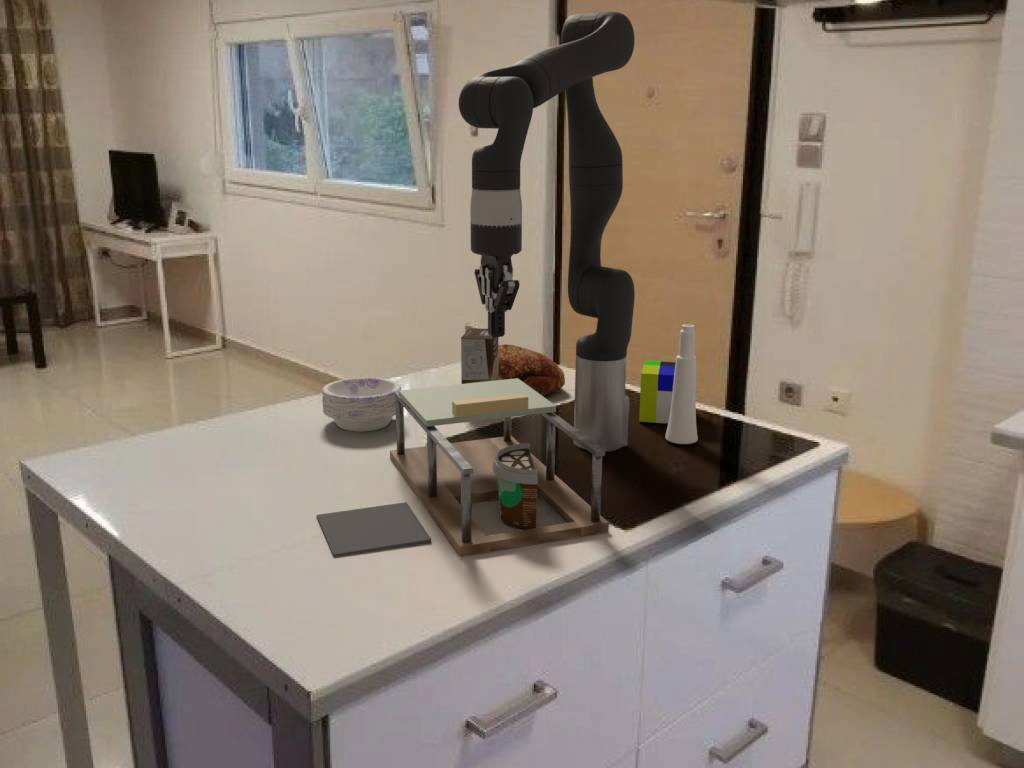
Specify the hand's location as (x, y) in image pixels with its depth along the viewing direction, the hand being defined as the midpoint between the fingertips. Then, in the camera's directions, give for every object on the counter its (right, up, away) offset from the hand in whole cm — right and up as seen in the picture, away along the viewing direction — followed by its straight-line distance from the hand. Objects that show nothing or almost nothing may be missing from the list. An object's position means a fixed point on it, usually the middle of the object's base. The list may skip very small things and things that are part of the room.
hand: (496, 335), depth 142 cm
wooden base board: (-1, -25, +11) cm, 27 cm away
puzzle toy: (+34, -14, +49) cm, 61 cm away
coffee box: (-4, -13, +53) cm, 55 cm away
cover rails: (-1, -23, +10) cm, 25 cm away
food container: (+3, -28, +1) cm, 28 cm away
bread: (+4, -9, +68) cm, 69 cm away
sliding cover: (-4, -11, +13) cm, 17 cm away
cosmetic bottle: (+34, -18, +36) cm, 53 cm away
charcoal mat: (-18, -29, -4) cm, 34 cm away
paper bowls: (-27, -16, +43) cm, 53 cm away
